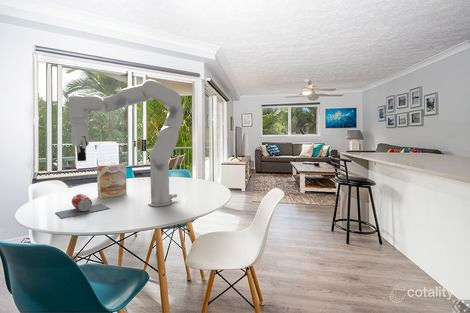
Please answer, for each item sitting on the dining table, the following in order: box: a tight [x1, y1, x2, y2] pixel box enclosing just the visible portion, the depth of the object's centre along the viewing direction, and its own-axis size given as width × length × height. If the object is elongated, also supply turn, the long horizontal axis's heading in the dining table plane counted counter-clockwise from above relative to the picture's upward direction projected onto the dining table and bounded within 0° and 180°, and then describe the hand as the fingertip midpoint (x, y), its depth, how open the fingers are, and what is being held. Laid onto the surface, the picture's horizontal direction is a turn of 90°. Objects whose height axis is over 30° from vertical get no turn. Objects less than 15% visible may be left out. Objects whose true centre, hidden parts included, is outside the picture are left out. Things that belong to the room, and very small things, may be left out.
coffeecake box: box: [96, 163, 127, 199], centre depth 145 cm, size 15×7×20 cm, turn 132°
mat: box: [55, 203, 111, 219], centre depth 114 cm, size 20×12×1 cm, turn 138°
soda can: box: [71, 193, 93, 212], centre depth 114 cm, size 7×7×12 cm
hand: (81, 160), depth 112 cm, fingers closed
